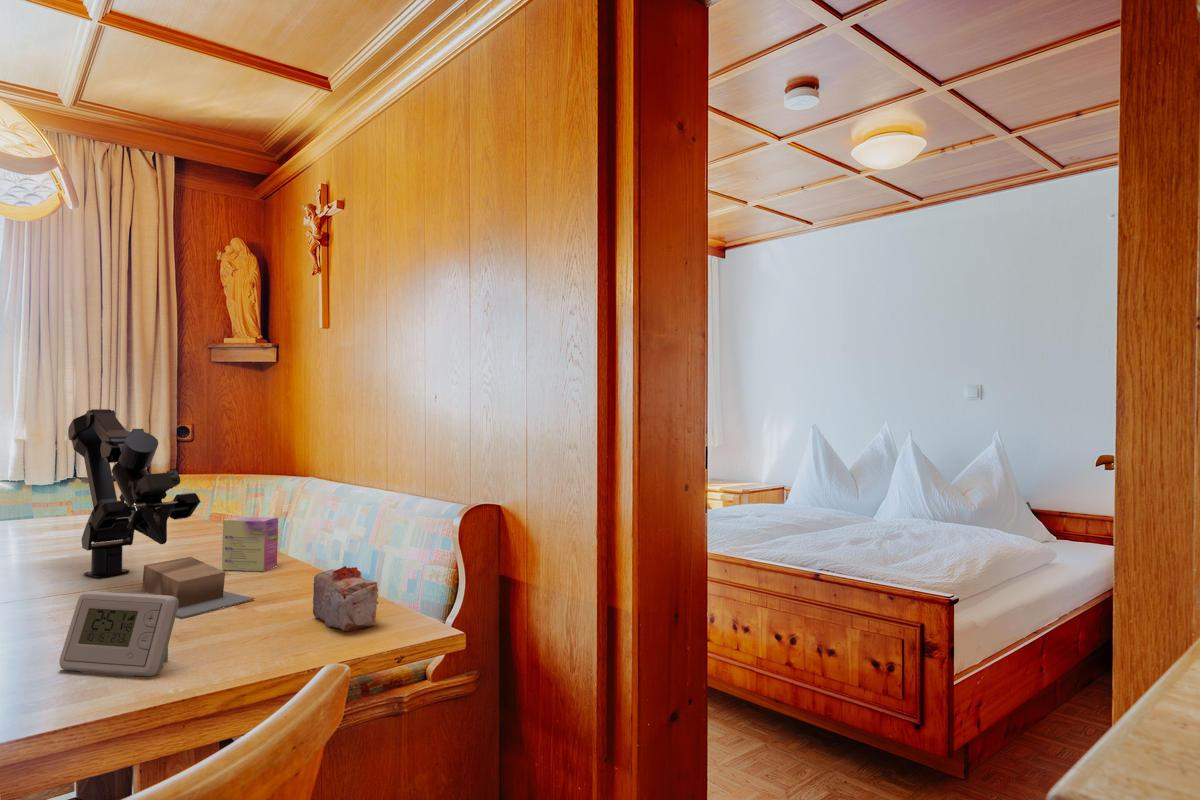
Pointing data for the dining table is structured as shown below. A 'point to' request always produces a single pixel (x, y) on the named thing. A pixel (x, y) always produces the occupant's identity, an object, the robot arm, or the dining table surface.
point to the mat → (211, 605)
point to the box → (249, 543)
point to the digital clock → (119, 633)
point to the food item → (345, 599)
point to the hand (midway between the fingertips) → (163, 542)
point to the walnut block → (184, 580)
